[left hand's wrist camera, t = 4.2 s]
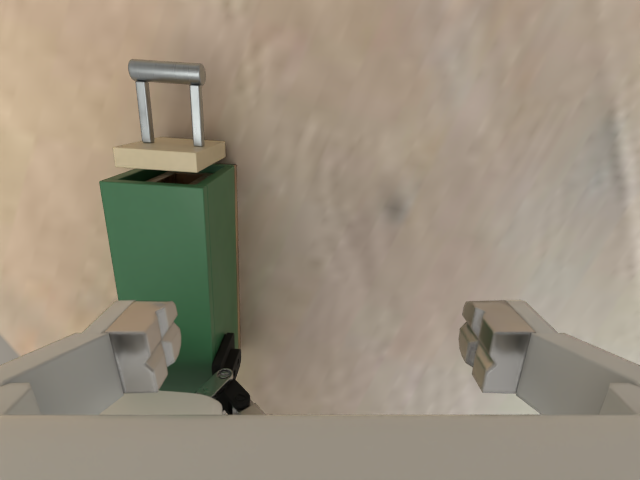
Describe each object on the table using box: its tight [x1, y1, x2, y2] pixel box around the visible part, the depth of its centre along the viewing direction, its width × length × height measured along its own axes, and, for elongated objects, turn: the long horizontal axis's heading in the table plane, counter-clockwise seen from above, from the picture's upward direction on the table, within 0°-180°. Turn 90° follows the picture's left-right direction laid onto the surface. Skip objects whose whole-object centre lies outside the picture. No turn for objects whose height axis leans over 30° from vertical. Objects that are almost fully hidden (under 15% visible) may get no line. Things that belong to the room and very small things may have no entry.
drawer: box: [113, 59, 226, 185], centre depth 27 cm, size 22×5×6 cm, turn 176°
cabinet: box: [99, 164, 240, 393], centre depth 28 cm, size 18×6×8 cm, turn 176°
